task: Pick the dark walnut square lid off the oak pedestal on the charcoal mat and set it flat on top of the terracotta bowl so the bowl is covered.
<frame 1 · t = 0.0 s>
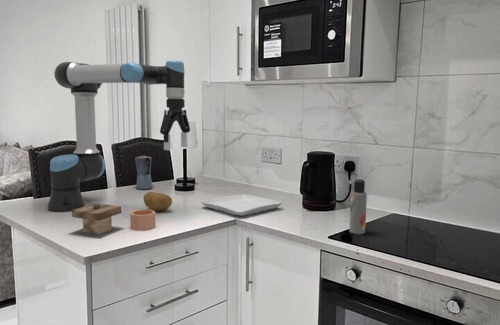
hand: (176, 148, 181), 28 cm above the worktop, tool pointing down, fingers open, 13 cm apart
pedestal: (97, 230, 156), on the worktop
mat: (97, 231, 156), on the worktop
lotion bottle: (357, 232, 159), on the worktop
potato: (158, 211, 188), on the worktop
square plate: (241, 209, 194), on the worktop
moka pot: (145, 188, 237), on the worktop
lid: (97, 214, 155), point 6 cm above the worktop, touching pedestal
bowl: (143, 227, 161), on the worktop
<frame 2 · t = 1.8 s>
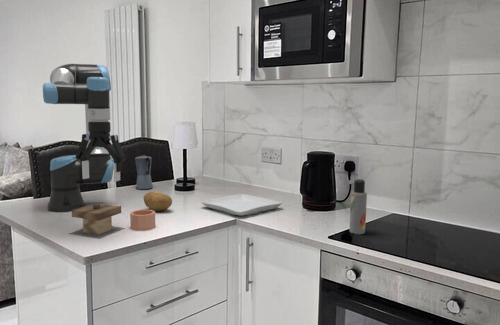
hand: (101, 179, 154), 19 cm above the worktop, tool pointing down, fingers open, 13 cm apart
nothing on the worktop moved.
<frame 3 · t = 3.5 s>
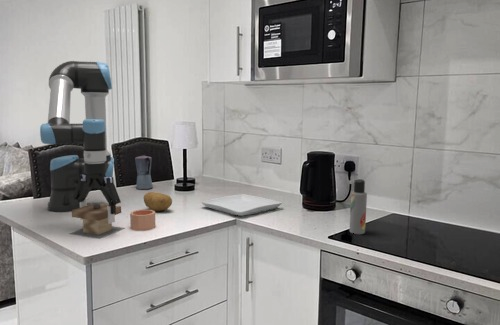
hand: (97, 220, 155), 4 cm above the worktop, tool pointing down, fingers closed on lid, 12 cm apart
lid: (97, 214, 155), point 6 cm above the worktop, touching gripper, pedestal
everything else where it was.
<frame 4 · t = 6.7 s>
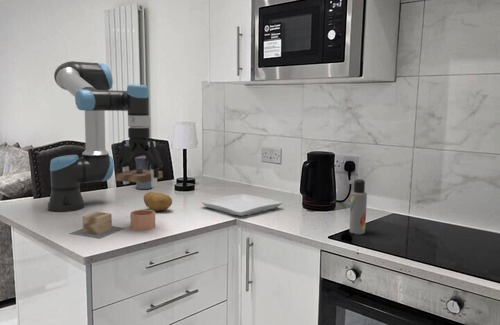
hand: (140, 185, 159), 17 cm above the worktop, tool pointing down, fingers closed on lid, 12 cm apart
lid: (139, 179, 158), point 19 cm above the worktop, touching gripper
everything else where it was.
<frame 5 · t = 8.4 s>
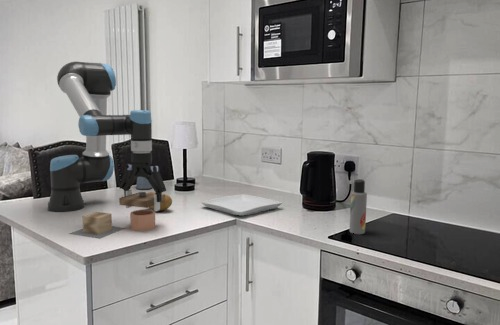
hand: (142, 208, 160), 7 cm above the worktop, tool pointing down, fingers closed on lid, 12 cm apart
lid: (142, 202, 160), point 10 cm above the worktop, touching gripper
everything else where it was.
when the fingers open (5 cm above the worktop, at t = 9.5 s): lid drops 2 cm, resting on bowl.
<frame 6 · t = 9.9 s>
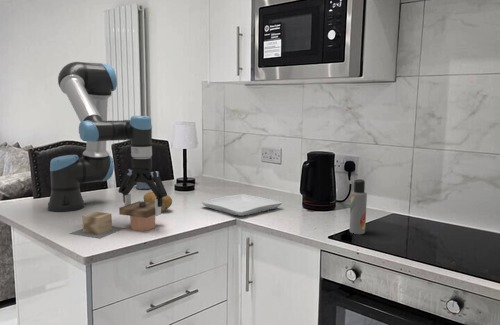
hand: (142, 213, 161), 6 cm above the worktop, tool pointing down, fingers open, 13 cm apart
lid: (142, 212, 161), point 6 cm above the worktop, touching bowl
bowl: (143, 227, 161), on the worktop, touching lid
everything else where it was.
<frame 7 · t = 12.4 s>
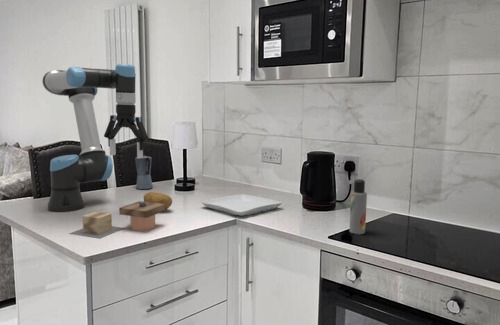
hand: (126, 156, 172), 25 cm above the worktop, tool pointing down, fingers open, 13 cm apart
nothing on the worktop moved.
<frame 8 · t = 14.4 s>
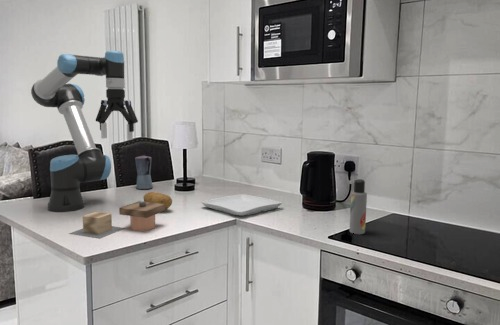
hand: (116, 139, 182), 32 cm above the worktop, tool pointing down, fingers open, 13 cm apart
nothing on the worktop moved.
at the end: lid 0.1 cm off-centre on the bowl, point 6.0 cm above the bowl's base; lid tilted 0°; the gripper is holding nothing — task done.
